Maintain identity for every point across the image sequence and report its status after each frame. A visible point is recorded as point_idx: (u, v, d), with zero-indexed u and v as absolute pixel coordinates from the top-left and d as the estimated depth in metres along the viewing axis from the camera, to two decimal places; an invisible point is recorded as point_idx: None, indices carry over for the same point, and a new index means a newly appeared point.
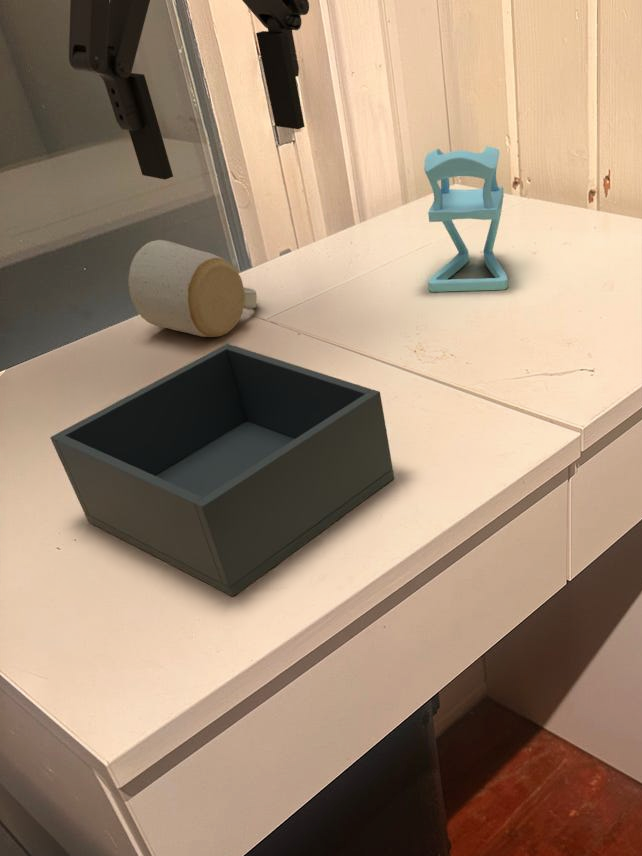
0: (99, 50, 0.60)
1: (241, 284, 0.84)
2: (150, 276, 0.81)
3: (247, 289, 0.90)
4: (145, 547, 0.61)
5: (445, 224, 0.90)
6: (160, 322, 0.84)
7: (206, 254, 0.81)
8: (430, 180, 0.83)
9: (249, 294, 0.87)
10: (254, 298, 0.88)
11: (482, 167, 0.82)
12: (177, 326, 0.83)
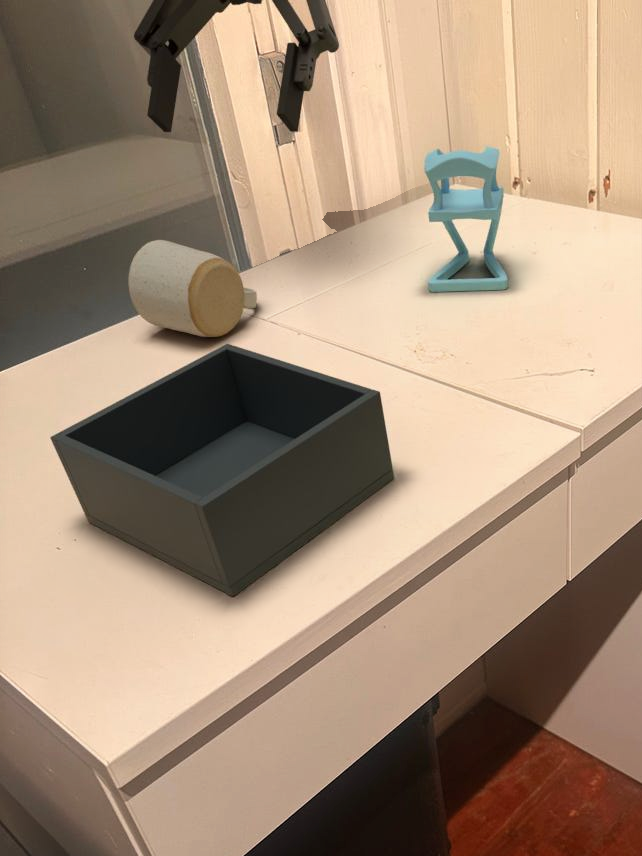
0: None
1: (241, 284, 0.84)
2: (150, 276, 0.81)
3: (247, 289, 0.90)
4: (145, 547, 0.61)
5: (445, 224, 0.90)
6: (160, 322, 0.84)
7: (206, 254, 0.81)
8: (430, 180, 0.83)
9: (249, 294, 0.87)
10: (254, 298, 0.88)
11: (482, 167, 0.82)
12: (177, 326, 0.83)
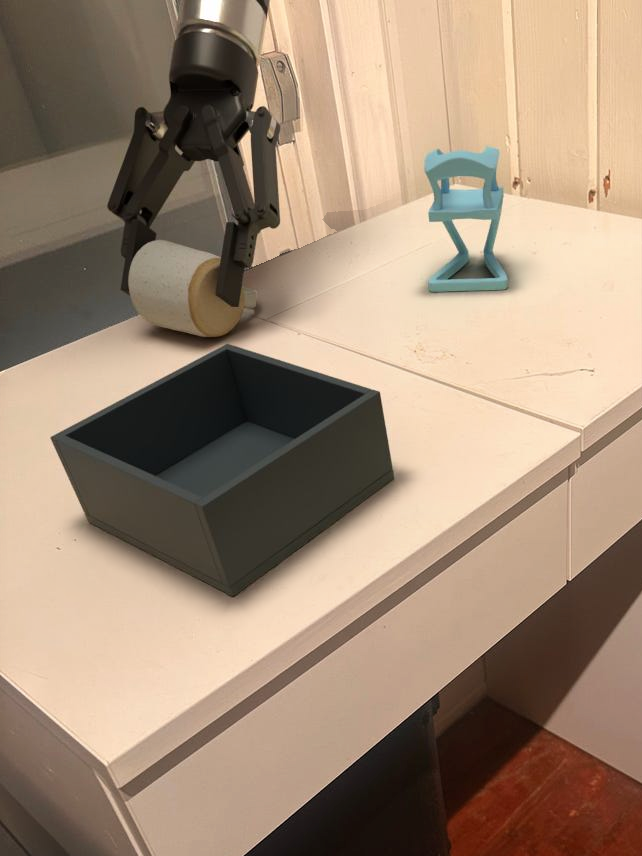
0: None
1: None
2: (150, 276, 0.81)
3: (247, 289, 0.90)
4: (145, 547, 0.61)
5: (445, 224, 0.90)
6: (160, 322, 0.84)
7: (206, 254, 0.81)
8: (430, 180, 0.83)
9: (249, 294, 0.87)
10: (254, 298, 0.88)
11: (482, 167, 0.82)
12: (177, 326, 0.83)
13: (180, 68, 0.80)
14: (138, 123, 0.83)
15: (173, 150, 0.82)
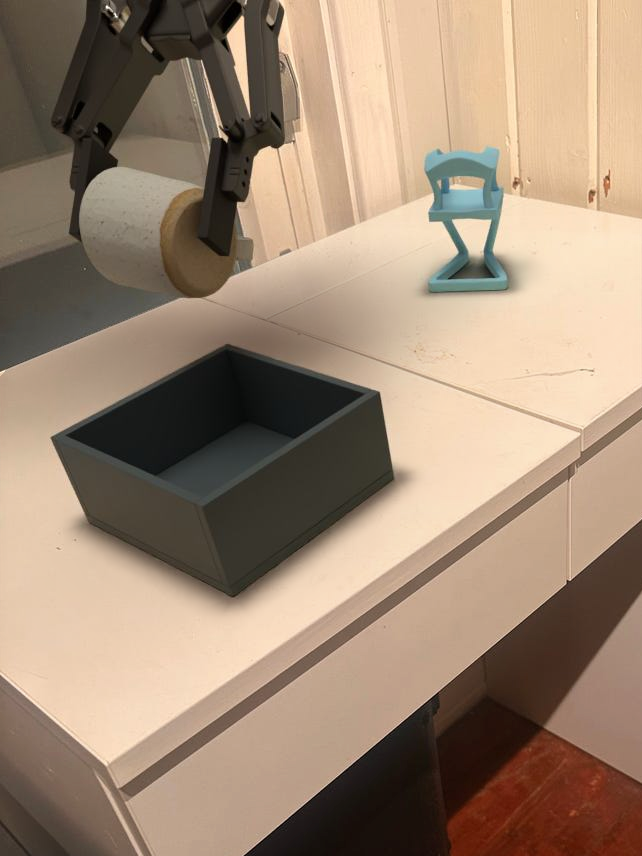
0: None
1: None
2: (108, 214, 0.59)
3: (241, 237, 0.68)
4: (145, 547, 0.61)
5: (445, 224, 0.90)
6: (123, 278, 0.63)
7: (184, 183, 0.60)
8: (430, 180, 0.83)
9: (243, 241, 0.65)
10: (250, 248, 0.66)
11: (482, 167, 0.82)
12: (147, 283, 0.62)
13: None
14: (92, 8, 0.62)
15: (139, 43, 0.61)
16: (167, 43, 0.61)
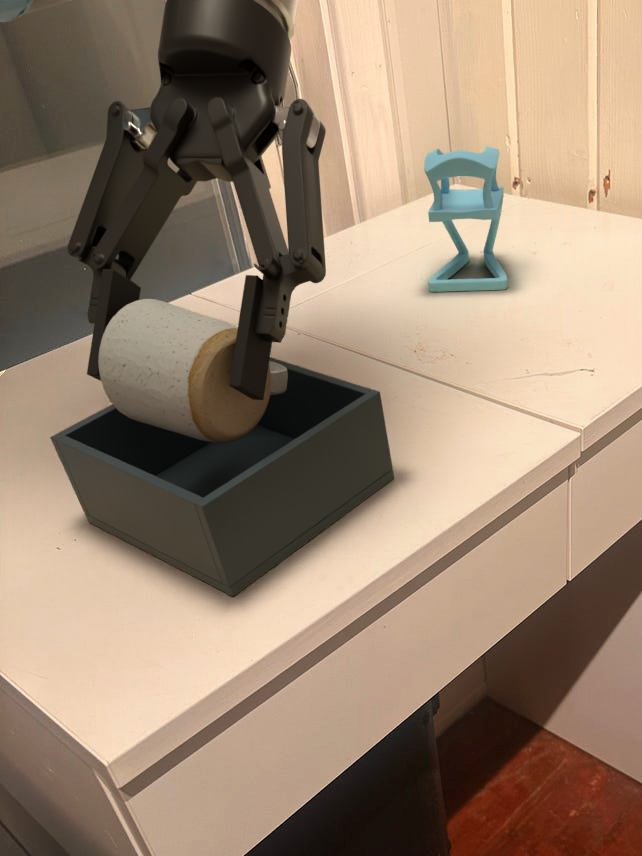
0: None
1: None
2: (131, 357, 0.54)
3: (273, 364, 0.62)
4: (145, 547, 0.61)
5: (445, 224, 0.90)
6: (146, 420, 0.57)
7: (215, 323, 0.54)
8: (430, 180, 0.83)
9: (277, 375, 0.59)
10: (284, 379, 0.60)
11: (482, 167, 0.82)
12: (172, 428, 0.56)
13: (174, 42, 0.52)
14: (113, 125, 0.56)
15: (165, 166, 0.55)
16: (196, 166, 0.55)
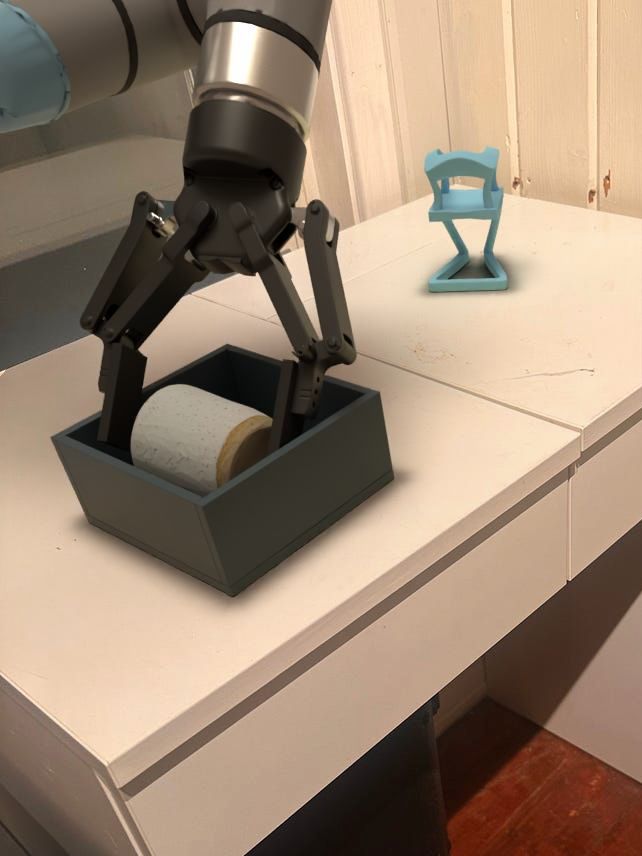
0: None
1: None
2: (162, 442, 0.58)
3: None
4: (145, 547, 0.61)
5: (445, 224, 0.90)
6: None
7: (240, 410, 0.58)
8: (430, 180, 0.83)
9: None
10: None
11: (482, 167, 0.82)
12: None
13: (199, 151, 0.56)
14: (138, 213, 0.60)
15: (181, 259, 0.59)
16: (216, 262, 0.59)
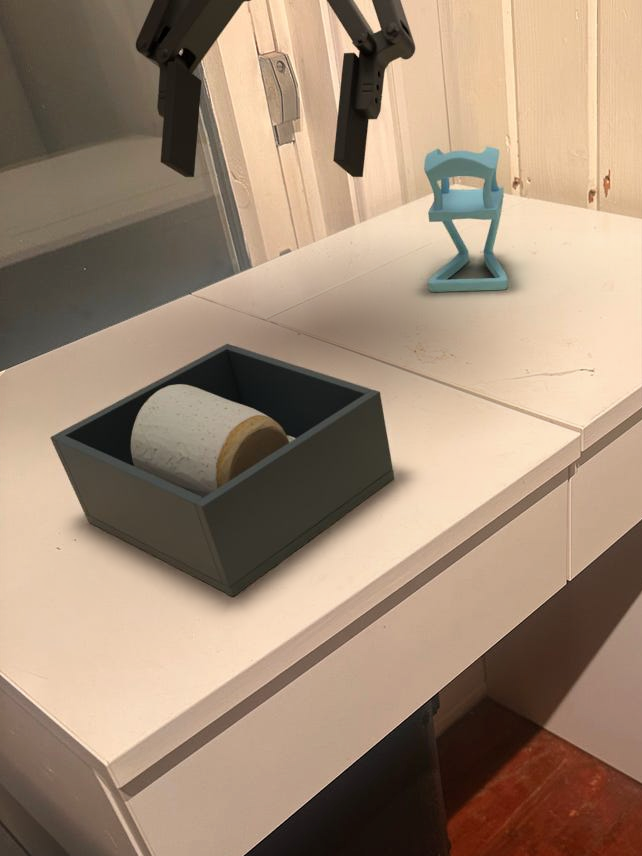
0: None
1: None
2: (162, 442, 0.58)
3: (291, 439, 0.66)
4: (145, 547, 0.61)
5: (445, 224, 0.90)
6: None
7: (240, 411, 0.58)
8: (430, 180, 0.83)
9: None
10: None
11: (482, 167, 0.82)
12: None
13: None
14: None
15: None
16: None
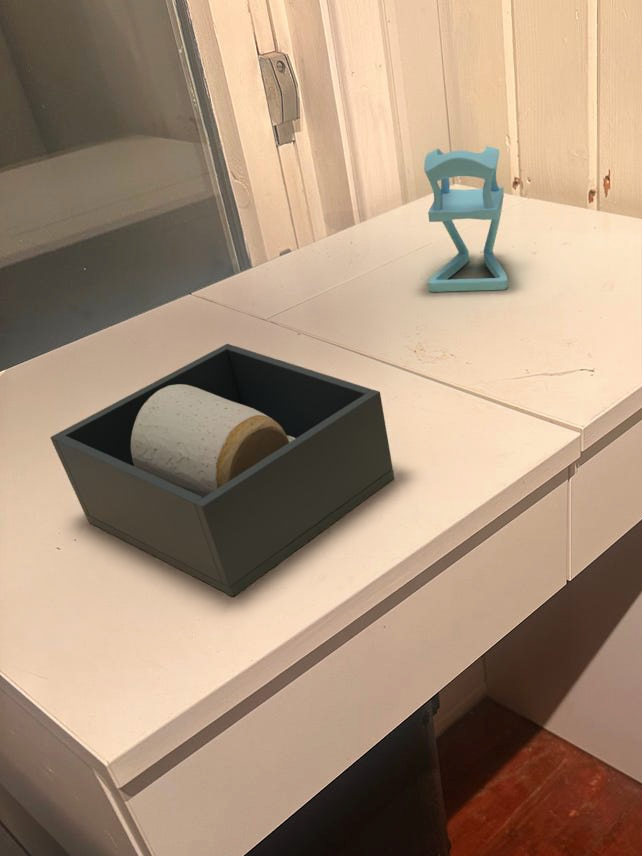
0: None
1: None
2: (162, 442, 0.58)
3: (291, 439, 0.66)
4: (145, 547, 0.61)
5: (445, 224, 0.90)
6: None
7: (240, 411, 0.58)
8: (430, 180, 0.83)
9: None
10: None
11: (482, 167, 0.82)
12: None
13: None
14: None
15: None
16: None
